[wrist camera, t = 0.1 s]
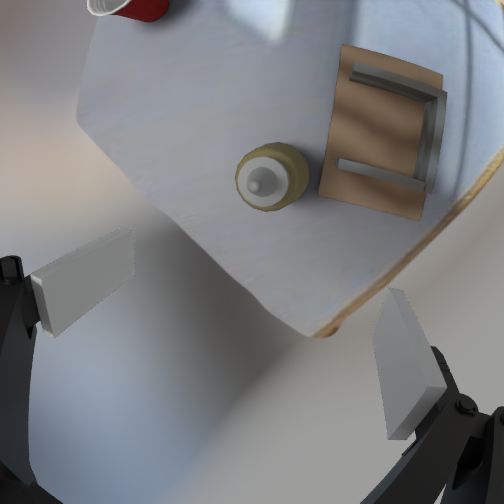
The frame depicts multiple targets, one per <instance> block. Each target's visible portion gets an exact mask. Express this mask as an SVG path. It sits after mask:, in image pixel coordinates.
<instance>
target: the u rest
mask: <svg viewBox="0 0 504 504" xmlns="http://www.w3.org/2000/svg"><path fill="white" fill-rule="evenodd" d="M442 81H443V75H441V74H439V73H436V72H434V71H431V70H429V69H426V68H424V67H421V66H418V65H415V64H412V63H410V62H407V61H404V60H401V59H398V58H394V57H391V56H388V55H384V54H381V53H377V52H374V51H370V50H366V49H362V48H358V47H354V46H350V45H345V44H342V47H341V55H340V63H339V70H338V78H337V85H336V92H335V98H334V105H333V111H332V117H331V124H330V130H329V135H328V141H327V147H326V153H325V158H324V163H323V169H322V174H321V179H320V184H319V189H318V194H317V195H318V196H322V197H326V198H331V199H335V200H340V201H344V202H348V203H352V204H356V205H360V206H364V207H368V208H372V209H376V210H380V211H384V212H388V213H391V214H395V215H399V216H402V217H406V218H410V219H413V220H417V221H419V219H420V215H421V211H422V207H423V203H424V199H425V195H426V193H429V194H432V190H433V185H434V180H435V176H436V171H437V165H438V160H439V154H440V148H441V142H442V135H443V128H444V120H445V112H446V101H447V92H445V91H443V90H442Z"/></svg>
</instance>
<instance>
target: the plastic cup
mask: <svg viewBox="0 0 504 504" xmlns="http://www.w3.org/2000/svg"><path fill="white" fill-rule="evenodd" d="M168 6H169V2H168V0H87V8H88V10H89V11H90V12H91V14H92V15H97V16H105V15H119V16H123V17H127V18H131V19H135V20H140V21H143V22H153V21H155V20H157V19H159V18H160V17H161V16H163V15H164V14H165V12H166V11H167V9H168Z"/></svg>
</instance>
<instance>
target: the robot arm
mask: <svg viewBox="0 0 504 504" xmlns="http://www.w3.org/2000/svg"><path fill="white" fill-rule="evenodd" d="M132 277H134V229H130V228H125V227H122V228H120V229H117V230H116V231H113V232H111V233H109V234H107V235H105V236H103V237H101V238H98V239H97V240H94V241H92V242H90V243H88V244H86V245H84V246H83V247H80V248H78V249H76V250H74V251H72V252H70V253H68V254H66V255H64V256H63V257H61V258H59V259H57V260H55V261H53V262H51V263H49V264H47V265H46V266H44V267H42V268H40V269H38V270H37V271H35V272H33V273H31V274H30V275H28V276H26V277H25V278H24V273H23V267H22V261H21V258H20V257H18V256H12V255H11V256H6V257H3V258H0V504H63V503H62V502H60V501H59V500H57V499H56V498H55V497H53V496H52V495H51V494H49V493H48V492H47V491H45V490H44V489H43V488H42V487H40V486H39V485H38V484H37V481H36V478H35V475H34V473H33V471H32V469H31V466H30V462H29V444H28V411H29V391H30V380H31V369H32V361H33V354H34V346H35V340H36V334H37V328H36V325H35V324H36V323H37V322H39V321H41V325H42V328H43V332H44V333H46V334H48V335H49V336H51V337H53V338H56V337H57V336H58V335H60V334H61V333H62V332H63V331H64V330H66V329H67V328H68V327H69V326H71V325H72V324H73V323H74V322H76V321H77V320H78V319H79V318H81V317H82V316H83V315H84V314H85V313H87V312H88V311H89V310H91V309H92V308H93V307H94V306H96V305H97V304H98V303H99V302H100V301H102V300H103V299H105V298H106V297H107V296H109V295H110V294H111V293H112V292H114V291H115V290H116V289H118V288H119V287H120V286H122V285H123V284H124V283H125V282H127V281H128V280H130V279H131V278H132ZM371 340H372V344H373V349H374V354H375V359H376V364H377V370H378V375H379V381H380V387H381V393H382V399H383V406H384V412H385V420H386V428H387V435H388V440H407V438H408V437H409V436H410V435H411V434H412V433H413V432H414V431H415V434H416V440H415V441H414V442H413V443H412V444H411V445H410V446H409V447H408V448H407V449H406V451H405V452H404V453H403V454H402V457H401V459H400V460H399V461H398V462H397V463H396V465H395V466H394V467H393V468H392V470H391V471H390V472H389V473H388V474H387V475H386V476H385V478H384V479H383V480H382V481H381V482H380V483H379V484H378V485H377V486H376V487H375V488H374V490H373V491H372V492H371V493H370V494H369V495H368V496H367V497H366V498H365V499H364V500H363V501H362V502H361V503H360V504H434V502H435V501H436V499H437V498H438V496H439V494H440V493H441V491H442V489H443V488H444V486H445V484H446V487H445V490H444V493H443V496H442V499H441V503H440V504H504V407H502V406H501V407H498V408H497V409H496V410H495V411H494V413H493V414H492V415H491V416H490V415H487V414H484V413H480V412H479V411H478V407H477V405H476V403H475V402H474V401H473V400H472V399H471V398H470V397H469V396H466V395H464V394H460V393H459V390H458V388H457V385H456V383H455V381H454V378H453V376H452V374H451V372H450V369H449V367H448V365H447V363H446V360H445V359H444V356H443V354H442V353H441V352H440V351H439V350H438V349H437V348H436V347H433V346H430V345H429V343H428V340H427V338H426V336H425V334H424V332H423V330H422V327H421V325H420V323H419V321H418V319H417V317H416V315H415V313H414V311H413V309H412V307H411V305H410V303H409V301H408V299H407V297H406V295H405V294H404V292H403V291H402V290H398V289H393V288H389V289H388V292H387V295H386V298H385V300H384V302H383V305H382V308H381V310H380V313H379V315H378V318H377V320H376V322H375V325H374V327H373V330H372V332H371Z"/></svg>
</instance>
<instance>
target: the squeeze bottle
mask: <svg viewBox="0 0 504 504" xmlns="http://www.w3.org/2000/svg"><path fill="white" fill-rule="evenodd" d="M309 178H310V174H309V167H308V163H307V161H306V160H305V158H304V156H303V155H302V153H301V152H300V151H298V150H297V149H296V148H294V147H293V146H291V145H288V144H284V143H280V142H276V143H270V144H265V145H263V146H261V147H259V148H256V149H255V150H253V151H251V152H250V153H248V154H246V155H245V156H244V158H243V159H242V160H241V162H240V163H239V165H238V167H237V171H236V176H235V181H236V186H237V191H238V192H239V194H240V196H241V197H242V199H243V201H245V202H246V203H247V204H249V205H250V206H251V207H253V208H254V209H258V210H262V211H265V212H267V211H276V210H280V209H281V208H283V207H285V206H287V205H289V204H290V203H292V202H294V201H295V200H297V199H299V198H300V196H301V195H302V194H303V192H304V191H305V190H306V189H307V185H308V181H309Z"/></svg>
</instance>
